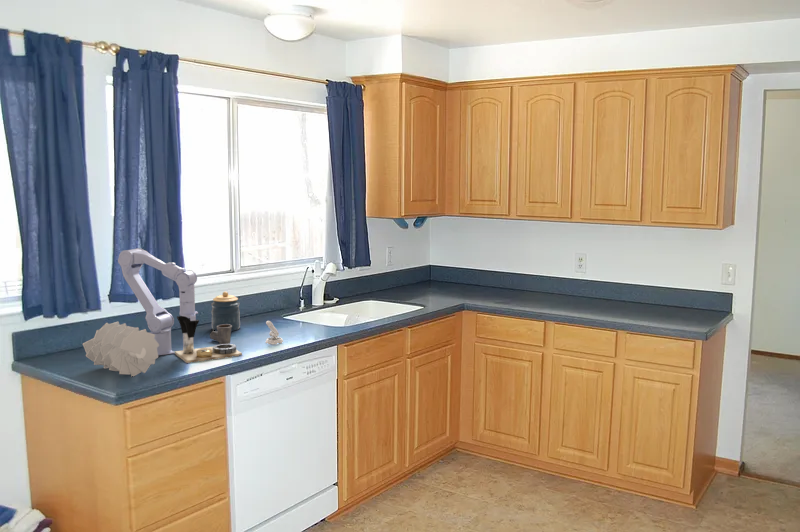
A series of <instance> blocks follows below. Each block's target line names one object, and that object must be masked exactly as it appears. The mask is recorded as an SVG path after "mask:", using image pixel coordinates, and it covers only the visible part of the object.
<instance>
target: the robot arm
mask: <svg viewBox="0 0 800 532" xmlns="http://www.w3.org/2000/svg"><path fill="white" fill-rule="evenodd" d="M117 262H118V264H119V266H120V267H121V271H122V276H123V279H124V280H125V281H126V283H127V285H128V286H129V287H130V289H131V291H132V292H133V293H134V295H135V298H137V300H138V301H139V303H140V305H141V306H142V308H143V310H144V311H145V312H146V315H145V317H144V318H145V321H146V323H147V327H148V329H149V331H150V332H149V333H152V334H155V337H154V339H155V340H156V341H157V342H158V344H159V346H158V347H157V352H158V356H165V355H172V354H175V351H174V350H172V327H173V326H174V324H175V318H174V316H173V315H172V314H171V313H170V312H168V310H167V309H166V308H164V307H162V306H161V305H159V303H158V301H157V300H156V298H155V297H154V295H153V294H152V293H151V291H150V289H149V288H148V286H147V284H146V283H145V282H144V280H143V278H142V276H141V275H140V270H141V268H142V267H143V264H145V265H148V266H149V267H152V268H154V269H156V270H158V271H161V274H162V276H164V277H166V278H168V279H170V280H172V281H174V282H175V283H176V285H177V286H178V290H179V295H178V296H179V314H178V316H176V319H177V320H178V321H177V322H179V325H180V330H181V334H183V333H185V332H187V335H188V338H192V337H193V338H195V335H196V329H197V327H198V325H199V322H200V320H199V319H196V318H197V315H198V314H199V312H198V311H197V310H196V304H195V303H196V302H195V301H196V300H195V299H196V298H195V297H196V296H195V295H196V294H195V292H196V291H195V284H196V283H197V281H198V277H197V274H196V272H194V271H193V270H190V269H189V270H186V268H185V267H180V266H179V265H176V262H167V263H166V262H164V261H162V260H161V259H159V258H157V257H156V256H154V255H152V254H151V253H149V252H148V251H147V250H144V249H143V248H140V247H136V248H133V249H127V250H126V249H125V250H124V249H123V250H121V251H120V253H119V255H118V258H117Z"/></svg>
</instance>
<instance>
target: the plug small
mask: <svg viewBox="0 0 800 532" xmlns="http://www.w3.org/2000/svg"><path fill="white" fill-rule="evenodd" d="M196 352H197V357H199V358H207V357H211V356H212V350H211V349H200V350H197V351H196Z"/></svg>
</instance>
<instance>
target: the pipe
mask: <svg viewBox="0 0 800 532" xmlns="http://www.w3.org/2000/svg"><path fill="white" fill-rule="evenodd" d="M231 328H232V325H230V324H222V325H218V326H217V331H214V330H212V331H211V332H210V333H209V338H210V339H211V340H213V341H215V342H218V344H231V334H232V331H231Z"/></svg>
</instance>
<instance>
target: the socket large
mask: <svg viewBox="0 0 800 532" xmlns="http://www.w3.org/2000/svg"><path fill="white" fill-rule="evenodd" d="M212 347H213V353H215V354H231V353H234V352H236V350H237V345H236V344H235V343H234V344H233V343H229V344H220V343H218V344H215V345H213V346H212Z"/></svg>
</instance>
